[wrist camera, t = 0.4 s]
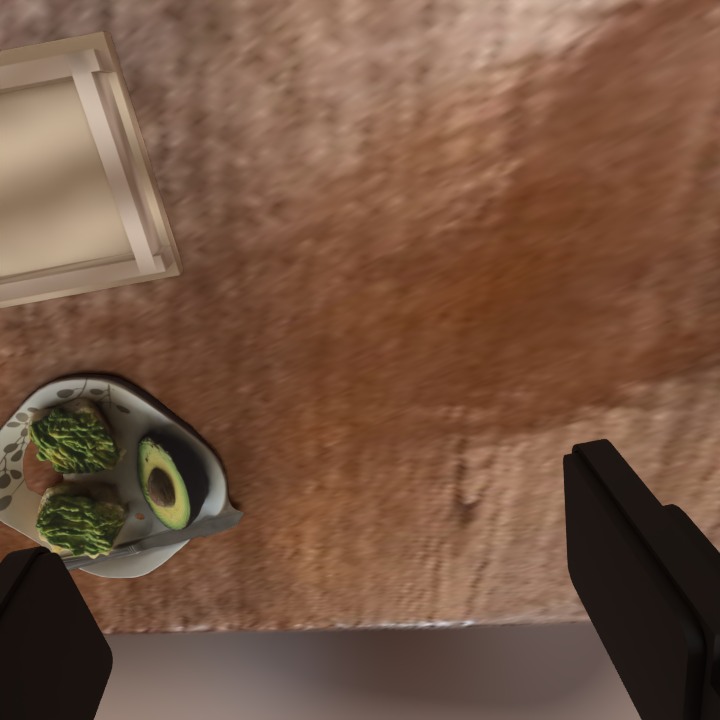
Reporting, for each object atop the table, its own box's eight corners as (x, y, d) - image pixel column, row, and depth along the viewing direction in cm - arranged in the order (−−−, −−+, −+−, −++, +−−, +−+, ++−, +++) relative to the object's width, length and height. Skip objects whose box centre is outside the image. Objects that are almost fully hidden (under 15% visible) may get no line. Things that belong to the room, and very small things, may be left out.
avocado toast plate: (117, 609, 52) (99, 655, 47) (-69, 493, 45) (-108, 534, 41) (270, 485, 47) (265, 523, 43) (87, 336, 41) (60, 364, 37)
